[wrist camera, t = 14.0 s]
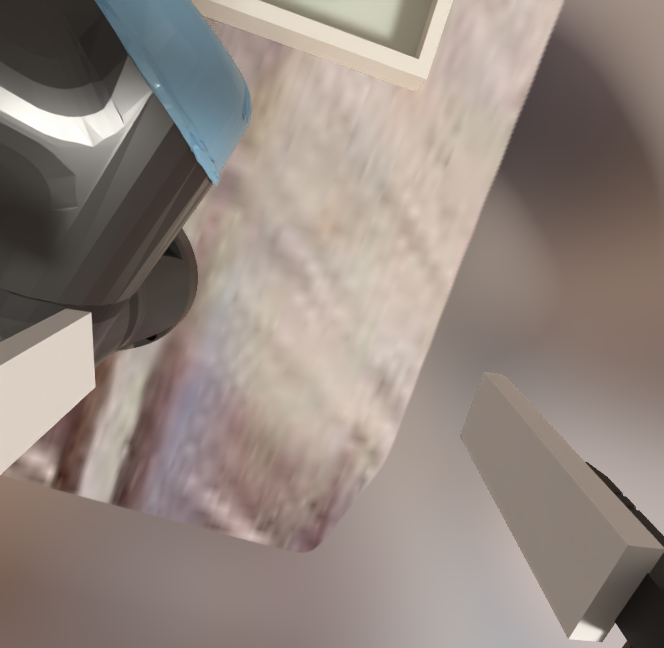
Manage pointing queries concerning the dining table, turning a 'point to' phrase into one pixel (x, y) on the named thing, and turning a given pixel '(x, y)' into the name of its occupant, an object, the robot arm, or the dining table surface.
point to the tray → (347, 31)
